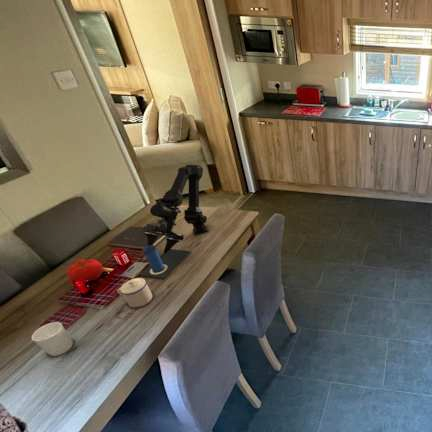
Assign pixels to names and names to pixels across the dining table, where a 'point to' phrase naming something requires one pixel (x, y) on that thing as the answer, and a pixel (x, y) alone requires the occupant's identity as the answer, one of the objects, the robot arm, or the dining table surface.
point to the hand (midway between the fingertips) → (156, 250)
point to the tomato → (85, 270)
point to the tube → (153, 258)
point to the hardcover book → (133, 238)
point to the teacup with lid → (136, 292)
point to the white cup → (53, 338)
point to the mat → (166, 263)
